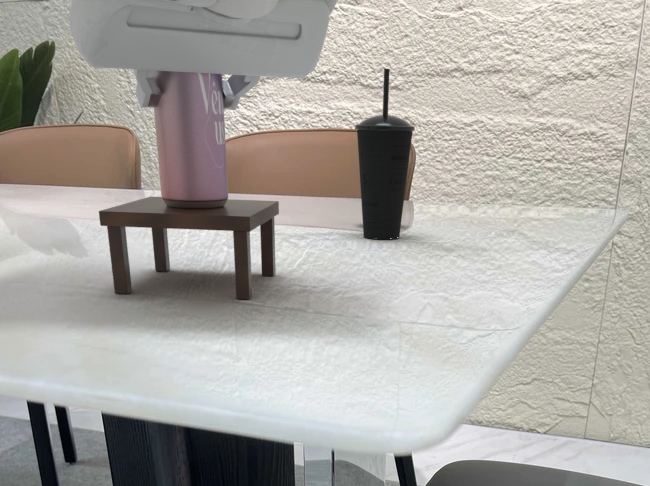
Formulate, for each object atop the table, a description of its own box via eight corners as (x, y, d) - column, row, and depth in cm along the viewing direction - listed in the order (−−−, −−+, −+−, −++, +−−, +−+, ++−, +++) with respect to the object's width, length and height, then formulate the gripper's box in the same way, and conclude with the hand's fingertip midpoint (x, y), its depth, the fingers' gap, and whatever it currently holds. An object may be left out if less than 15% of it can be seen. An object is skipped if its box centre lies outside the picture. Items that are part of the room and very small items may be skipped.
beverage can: (193, 200, 74) (180, 19, 67) (242, 205, 71) (233, 16, 65) (148, 205, 69) (129, 11, 63) (198, 210, 67) (184, 8, 60)
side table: (108, 294, 68) (98, 211, 65) (156, 268, 80) (150, 196, 77) (252, 300, 67) (249, 216, 64) (280, 273, 79) (278, 201, 76)
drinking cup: (383, 231, 109) (389, 71, 100) (421, 238, 103) (430, 69, 95) (341, 235, 104) (343, 67, 95) (378, 243, 99) (384, 66, 90)
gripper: (333, -60, 62) (279, 80, 73) (72, -103, 51) (56, 68, 63) (363, 0, 60) (302, 133, 72) (101, -31, 50) (79, 130, 61)
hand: (186, 103), depth 67 cm, fingers closed on beverage can, 6 cm apart
